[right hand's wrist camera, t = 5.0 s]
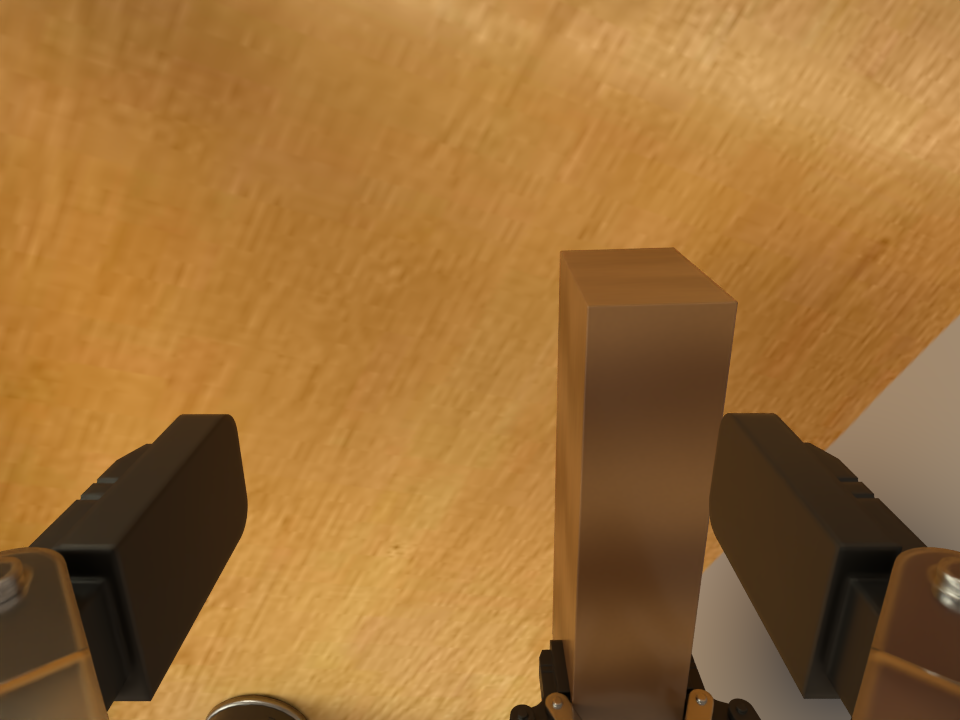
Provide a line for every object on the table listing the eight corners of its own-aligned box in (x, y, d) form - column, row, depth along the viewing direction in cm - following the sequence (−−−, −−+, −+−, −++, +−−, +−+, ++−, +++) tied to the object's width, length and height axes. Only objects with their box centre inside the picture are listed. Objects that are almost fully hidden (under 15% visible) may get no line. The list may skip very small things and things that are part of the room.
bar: (559, 250, 33) (587, 306, 25) (674, 247, 33) (738, 301, 25) (552, 633, 43) (570, 761, 35) (640, 631, 43) (678, 757, 35)
